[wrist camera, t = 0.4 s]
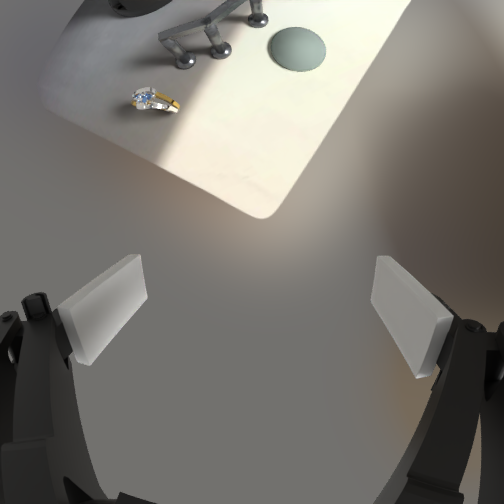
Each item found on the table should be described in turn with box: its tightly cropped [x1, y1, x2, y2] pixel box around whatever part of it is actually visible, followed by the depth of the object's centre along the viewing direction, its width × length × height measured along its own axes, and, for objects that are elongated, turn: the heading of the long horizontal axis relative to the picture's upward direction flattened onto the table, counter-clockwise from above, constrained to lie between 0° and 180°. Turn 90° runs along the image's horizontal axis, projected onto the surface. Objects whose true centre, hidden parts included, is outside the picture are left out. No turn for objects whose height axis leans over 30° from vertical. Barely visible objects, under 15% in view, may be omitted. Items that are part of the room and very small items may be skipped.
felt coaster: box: [271, 27, 326, 72], centre depth 31 cm, size 8×8×1 cm
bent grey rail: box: [158, 0, 268, 69], centre depth 26 cm, size 8×15×10 cm, turn 102°
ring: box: [131, 87, 180, 114], centre depth 31 cm, size 7×3×8 cm, turn 65°
